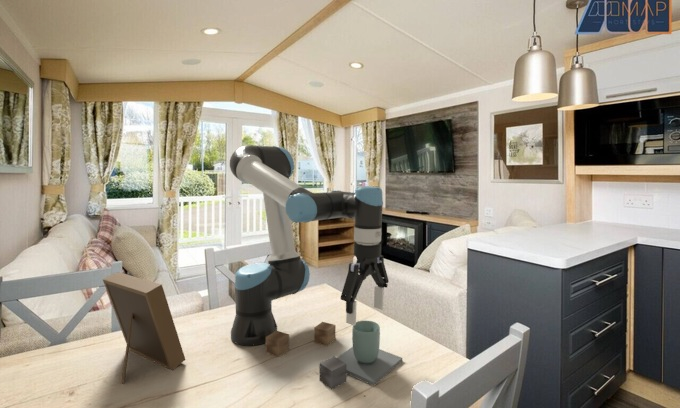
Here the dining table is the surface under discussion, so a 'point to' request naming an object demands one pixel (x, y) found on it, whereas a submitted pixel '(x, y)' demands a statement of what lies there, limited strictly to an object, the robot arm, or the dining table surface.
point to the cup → (366, 341)
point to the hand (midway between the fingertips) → (365, 315)
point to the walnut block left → (324, 333)
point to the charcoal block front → (332, 372)
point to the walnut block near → (277, 343)
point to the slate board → (370, 366)
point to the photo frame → (144, 320)
